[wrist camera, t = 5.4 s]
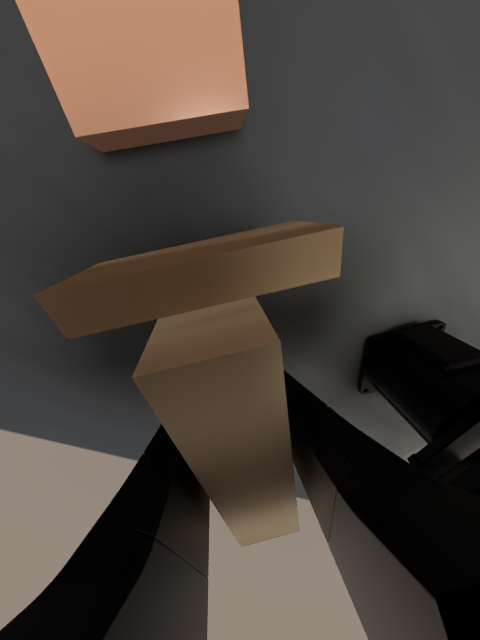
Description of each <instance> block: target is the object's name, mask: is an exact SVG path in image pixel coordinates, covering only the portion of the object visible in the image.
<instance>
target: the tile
mask: <svg viewBox="0 0 480 640" xmlns="http://www.w3.org/2000/svg"><path fill="white" fill-rule="evenodd" d="M15 1H16V3H17V6H18V8H19V10H20V12H21V15H22V17H23V19H24V21H25V24H26V26H27V28H28V31H29V33H30V35H31V37H32V40H33V42H34V44H35V46H36V49H37V51H38V53H39V55H40V58H41V60H42V62H43V65H44V67H45V69H46V71H47V74H48V76H49V78H50V80H51V83H52V85H53V87H54V89H55V92H56V94H57V96H58V99H59V101H60V103H61V105H62V108H63V110H64V112H65V114H66V117H67V119H68V121H69V124H70V126H71V128H72V130H73V133H74V135H75V137H76V138H78V139H80V140H82V141H83V142H85V143H87V144H89V145H91V146H93V147H95V148H96V149H98V150H100V151H102V152H109V151H115V150H121V149H127V148H133V147H139V146H145V145H150V144H156V143H162V142H168V141H174V140H180V139H186V138H192V137H198V136H203V135H209V134H215V133H221V132H227V131H233V130H239V129H240V128H241V126H242V123H243V121H244V119H245V116H246V114H247V112H248V109H249V105H248V95H247V84H246V74H245V64H244V54H243V44H242V34H241V24H240V14H239V3H238V0H15Z"/></svg>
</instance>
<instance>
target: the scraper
mask: <svg viewBox="0 0 480 640" xmlns="http://www.w3.org/2000/svg"><path fill="white" fill-rule="evenodd" d="M343 230H344V226H337V225H328V224H320V223H312V222H303V221H295V220H293V221H288V222H284V223H279V224H275V225H270V226H266V227H261V228H257V229H252V230H247V231H243V232H238V233H234V234H229V235H225V236H220V237H215V238H211V239H206V240H202V241H197V242H193V243H188V244H183V245H179V246H174V247H170V248H165V249H161V250H156V251H152V252H147V253H142V254H138V255H133V256H129V257H124V258H120V259H115V260H110V261H106V262H101V263H98V264H96V265H94V266H92V267H90V268H88V269H86V270H84V271H82V272H80V273H77V274H75V275H73V276H71V277H69V278H67V279H65V280H63V281H61V282H59V283H57V284H55V285H53V286H51V287H49V288H47V289H45V290H43V291H41V292H39V293H37V294H35V295H33V296H34V298H35V299H36V300H37V302H38V303H39V304H40V306H41V307H42V308H43V309H44V311H45V312H46V313H47V315H48V316H49V317H50V318H51V320H52V321H53V322H54V324H55V325H56V326H57V327H58V329H59V330H60V331H61V333H62V334H63V335H64V337H65V338H66V339H67V340H69V339H74V338H78V337H82V336H87V335H91V334H95V333H100V332H104V331H108V330H113V329H117V328H121V327H125V326H130V325H134V324H138V323H143V322H147V321H151V320H156V319H158V320H157V322H156V324H155V327H154V329H153V331H152V333H151V336H150V338H149V340H148V342H147V345H146V347H145V349H144V351H143V353H142V356H141V358H140V360H139V362H138V365H137V367H136V369H135V371H134V374H133V376H132V379H133V381H134V382H135V384H136V385H137V387H138V388H139V390H140V391H141V393H142V395H143V396H144V398H145V399H146V401H147V402H148V404H149V405H150V407H151V408H152V410H153V412H154V413H155V415H156V416H157V418H158V419H159V421H160V422H161V424H162V425H163V427H164V429H165V430H166V432H167V433H168V435H169V436H170V438H171V439H172V441H173V442H174V444H175V445H176V447H177V449H178V450H179V452H180V453H181V455H182V456H183V458H184V459H185V461H186V462H187V464H188V466H189V467H190V469H191V470H192V472H193V473H194V475H195V476H196V478H197V479H198V481H199V483H200V484H201V486H202V487H203V489H204V490H205V492H206V493H207V495H208V496H209V498H210V499H211V501H212V502H213V504H214V506H215V507H216V509H217V510H218V512H219V513H220V515H221V516H222V518H223V519H224V521H225V522H226V524H227V526H228V527H229V529H230V530H231V532H232V533H233V535H234V536H235V538H236V540H237V541H238V542H239V544H240V546H241V547H243V546H247V545H251V544H254V543H258V542H261V541H265V540H268V539H272V538H276V537H279V536H283V535H286V534H290V533H294V532H297V531H299V522H298V511H297V501H296V491H295V481H294V471H293V461H292V451H291V440H290V430H289V420H288V410H287V400H286V390H285V380H284V369H283V359H282V349H281V341H280V340H279V338H278V336H277V334H276V332H275V331H274V329H273V327H272V325H271V323H270V322H269V320H268V318H267V316H266V315H265V313H264V311H263V309H262V307H261V306H260V304H259V302H258V300H257V299H256V297H255V296H259V295H264V294H268V293H272V292H276V291H281V290H285V289H289V288H294V287H298V286H302V285H307V284H311V283H315V282H320V281H324V280H328V279H333V278H337V277H340V270H341V257H342V243H343Z"/></svg>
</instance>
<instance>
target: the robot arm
mask: <svg viewBox="0 0 480 640" xmlns="http://www.w3.org/2000/svg"><path fill="white" fill-rule="evenodd" d="M445 328H446V323H444V322H441V321H439V320H437V321H433V322H429V323H425V324H421V325H417V326H413V327H409V328H405V329H401V330H397V331H392V332H388V333H384V334H380V335H376V336H372V337H370V338H369V339H368V340H367V341H366V345H365V350H364V356H363V362H362V367H361V373H360V379H359V384H358V390H359V392H360V393H361V394H367V393H371V392H375V391H378V392H379V393H380V394H381V395H382V396H383V397H384V398H385V399H386V400H387V401H388V402H389V403H390V404H391V405H392V406H393V407H394V408H395V409H396V411H397V412H398V413H399V414H400V415H401V416H402V417H403V418H404V419H405V420H406V421H407V422H408V423H409V424H410V425H411V426H412V427H413V428H414V429H415V431H416V432H417V433H418V434H419V435H420V436H421V437H422V438H423V439H424V440H425V441H426V442H427V443H428V444H427V445H426V446H425V447H424V448H423V449H421V450H420V451H419V452H417V453H416V454H412V455H411V456H410V457H408V461H409V463H410V464H409V463H408V462H406V461H405V460H403V459H402V458H400V457H399V456H397V455H396V454H394V453H393V452H391V451H390V450H388V449H387V448H385V447H384V446H382V445H381V444H379V443H378V442H376V441H375V440H373V439H372V438H370V437H369V436H367V435H366V434H365V433H363V432H362V431H360V430H359V429H357V428H356V427H354V426H353V425H352V424H350V423H349V422H348V421H346V420H345V419H344V418H343V417H341V416H340V415H339V414H337V413H336V412H335V411H334V410H333V409H331V408H330V407H327V405H326V404H325V403H324V402H323V401H321V400H320V399H319V398H318V397H316V396H315V395H314V394H313V393H311V392H310V391H309V390H308V389H307V388H305V387H304V386H303V385H302V384H300V383H299V382H298V381H297V380H295V379H294V378H293V377H292V376H290V375H289V374H288V373H287V372H286V371H284V380H285V390H286V400H287V410H288V420H289V430H290V440H291V451H292V460H293V462H294V465H295V467H296V469H297V472H298V474H299V477H300V479H301V481H302V484H303V486H304V488H305V491H306V493H307V495H308V498H309V500H310V503H311V505H312V507H313V510H314V512H315V514H316V517H317V519H318V521H319V524H320V526H321V528H322V531H323V533H324V535H325V538H326V540H327V542H328V543H329V547H330V550H331V552H332V555H333V557H334V559H335V562H336V564H337V566H338V569H339V571H340V573H341V575H342V578H343V581H344V583H345V585H346V588H347V590H348V592H349V595H350V597H351V599H352V602H353V604H354V606H355V609H356V611H357V614H358V616H359V618H360V621H361V623H362V625H363V628H364V630H365V632H366V635H367V637H368V639H369V640H480V350H478V349H476V348H474V347H472V346H470V345H468V344H466V343H464V342H463V341H461V340H459V339H457V338H455V337H453V336H451V335H449V334H447V333H445V332H444V330H445ZM209 502H210V498H209V496H208V495H207V493H206V492H205V490H204V489H203V487H202V486H201V484H200V483H199V481H198V479H197V478H196V476H195V475H194V473H193V472H192V470H191V469H190V467H189V466H188V464H187V462H186V461H185V459H184V458H183V456H182V455H181V453H180V452H179V450H178V449H177V447H176V445H175V444H174V442H173V441H172V439H171V438H170V436H169V435H168V433H167V432H166V430H165V429H164V427H163V425H162V424H161V425H160V427H159V429H158V430H157V432H156V434H155V435H154V437H153V438H152V440H151V442H150V443H149V445H148V446H147V448H146V450H145V451H144V454H143V455H142V456H141V457H140V459H139V461H138V462H137V464H136V465H135V467H134V469H133V470H132V472H131V473H130V475H129V476H128V478H127V479H126V481H125V482H124V484H123V485H122V487H121V488H120V490H119V491H118V492H117V494H116V495H115V497H114V498H113V500H112V501H111V503H110V504H109V506H108V507H107V508H106V510H105V511H104V512H103V514H102V515H101V516H100V518H99V519H98V520H97V522H96V523H95V525H94V526H93V527H92V529H91V530H90V532H89V533H88V534H87V536H86V537H85V538H84V540H83V541H82V543H81V544H80V545H79V547H78V548H77V549H76V551H75V552H74V554H73V555H72V556H71V558H70V559H69V561H68V562H67V563H66V565H65V566H64V567H63V569H62V570H61V571H60V572H59V573H58V575H57V576H56V577H55V578H54V579H53V581H52V582H51V583H50V584H49V585H48V586H47V587H46V588H45V589H44V590H43V592H42V593H41V594H40V595H39V596H38V597H37V598H36V599H35V600H34V601H33V602H32V603H30V604H29V605H28V606H27V607H26V608H25V609H24V610H23V611H22V612H21V613H19V615H17V616H16V617H15V618H14V619H13V620H12V621H10V622H9V623H8V624H7V625H6V626H5V627H4V628H2V630H0V640H207V615H208V613H207V612H208V578H207V577H208V560H209V559H208V557H209V508H210V506H209V505H210V503H209Z"/></svg>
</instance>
